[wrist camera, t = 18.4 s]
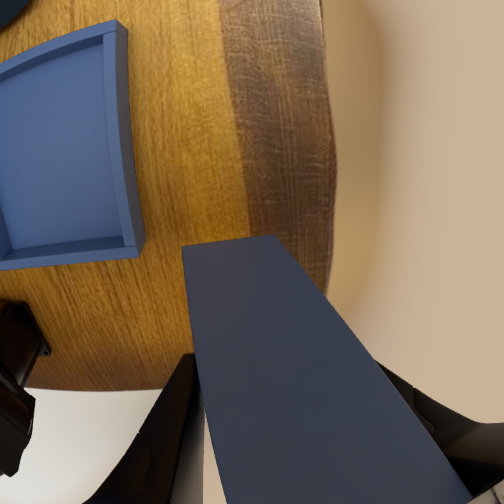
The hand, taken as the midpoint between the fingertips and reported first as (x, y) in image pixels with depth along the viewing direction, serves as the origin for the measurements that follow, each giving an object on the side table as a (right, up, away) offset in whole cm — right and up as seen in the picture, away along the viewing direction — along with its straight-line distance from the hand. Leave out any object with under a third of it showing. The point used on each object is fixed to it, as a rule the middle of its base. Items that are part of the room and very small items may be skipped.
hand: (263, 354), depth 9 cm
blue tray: (-14, +10, +6) cm, 18 cm away
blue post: (-1, +2, +4) cm, 5 cm away
